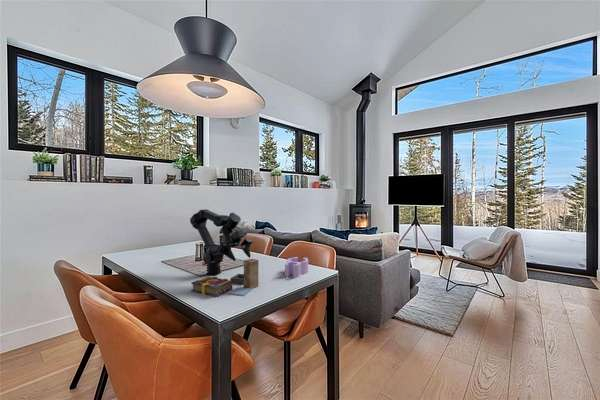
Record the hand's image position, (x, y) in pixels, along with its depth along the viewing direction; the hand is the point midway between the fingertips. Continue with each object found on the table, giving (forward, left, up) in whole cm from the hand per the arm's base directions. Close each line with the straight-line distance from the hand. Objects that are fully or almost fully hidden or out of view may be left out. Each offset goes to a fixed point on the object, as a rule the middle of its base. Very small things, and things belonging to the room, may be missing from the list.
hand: (242, 258), depth 136 cm
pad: (+5, -10, -13) cm, 17 cm away
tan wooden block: (+6, -3, -13) cm, 14 cm away
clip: (+20, +27, -13) cm, 36 cm away
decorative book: (-8, -12, -13) cm, 20 cm away
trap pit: (-2, +4, -13) cm, 13 cm away
